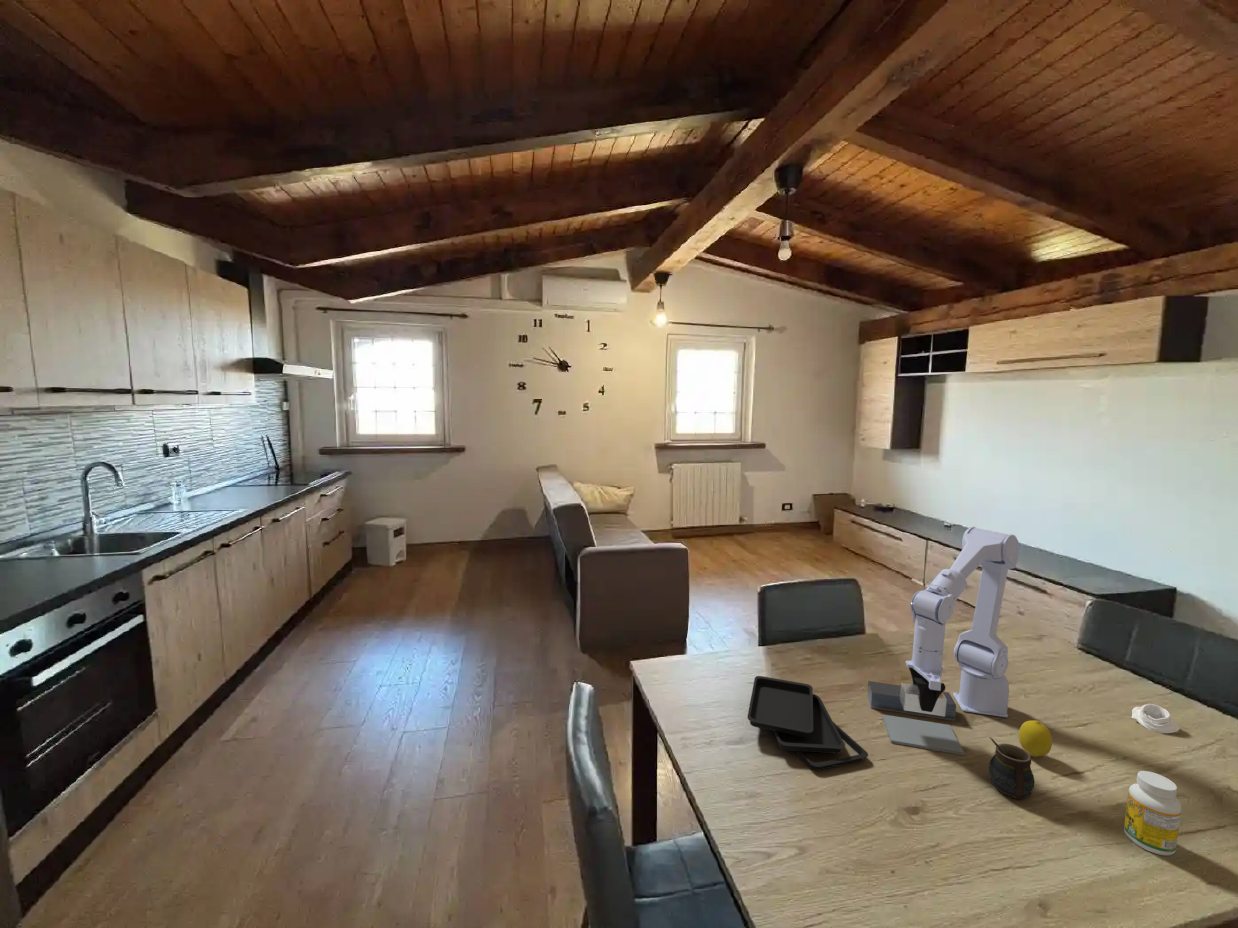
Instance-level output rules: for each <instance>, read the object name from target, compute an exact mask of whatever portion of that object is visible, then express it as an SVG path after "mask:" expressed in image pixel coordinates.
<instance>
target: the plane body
mask: <svg viewBox="0 0 1238 928" xmlns="http://www.w3.org/2000/svg"><path fill="white" fill-rule="evenodd" d="M867 683H868V684H867V695H866V696H867V699H868V703H869V706H870V708H871V709H875V710H883V711H889V712H895V713H902V714H908V715H915V716H920V717H921V716H922V717H926V718H933V719H934V718H935V719H940V720H945V721H951V722H955V721H956V711H957V704H956V702H955V700H954V699H953V696H952V695H951V693H950V692H948V691H943V694H944V696H945V697H946V699H947V701H946V712H945V717H944V716H938V715H931V714H925V713H918V712H912V711H906V710H904V709H903V706H902V704H901V701H900V687H901V684H900V685H899V684H891V683H884V682H880V681H879V682H878V681H871V680H868V682H867Z"/></svg>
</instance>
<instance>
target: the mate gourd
mask: <svg viewBox="0 0 1238 928" xmlns="http://www.w3.org/2000/svg"><path fill="white" fill-rule="evenodd" d="M989 739H990V740H991V742H992V743H993V744H994V745H995V753H994V755H993V756H992V758H991V759H990V761H989V764H988V775H989V779H990V782H991V783H992V785H993V786H994V787H995V788H996V789H997V790H998V791H999V792H1000V793H1002V794H1003V795H1006V796H1008V797H1011V798H1014V799H1016V800H1019V799H1025V798H1027V797H1029V796H1030V795H1031V794H1032V792H1033V790H1034V788H1035V782H1036V781H1035V775H1034V773H1033V771H1032V769H1031V765H1032V756H1031V754H1030V753H1028V752H1027V751H1025V750H1024V749H1023V748H1021V747H1020V746H1017V745H1014V744H1010V743H1000V744H998V743H997V742H996V741H995V740H994V739H993V738H992V737H991V736H989Z"/></svg>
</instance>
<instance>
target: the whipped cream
mask: <svg viewBox="0 0 1238 928" xmlns="http://www.w3.org/2000/svg"><path fill="white" fill-rule="evenodd" d="M1131 714H1132V715H1131V718H1132V719H1133V720H1136V721H1137V722H1138V723H1139V724H1140V725H1141V726H1142V727H1144V728H1145V729H1147V730H1150V731H1154V732H1155V733H1161V734H1173V733H1177V732H1178V731H1180V730H1181V728H1180V727H1181V726H1180V725H1179V724H1178V723H1176V722H1175V721H1174V720H1173V719H1172V716H1171V713H1170V712H1169V711H1168V710H1167V709H1165V708H1164V707H1161V705H1157V704H1153V703H1147V704H1143V705H1142V706H1135V707H1133V709H1132V710H1131Z"/></svg>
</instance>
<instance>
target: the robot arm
mask: <svg viewBox="0 0 1238 928" xmlns="http://www.w3.org/2000/svg"><path fill="white" fill-rule="evenodd" d="M961 549H962V550H961V551H960V552H959V554H958V555H957V557H956V559H955V560H954V562H953V564H952V565H951V566H950V568H944V569H942V570H941V571H940V572H939V573H938V574H937V575H936V577H935V578H934V579H933V580H932V581H931V582H930V583H929V585H928V586H927V587H926V588H925V589H923V590H918V591H916V592H915V593H914V595H912V598H911V603H910V604H909V605H910V606H909V609H910V612H911V615H912V619H911V620H912V621H913V622H912V623H914V631H913V644H912V657H911V660H906V661H905V665H906V667H907V668H908V669H909V672H910V675H911V679H912V680H911V681H912V684H914V685H917V687H918V691H919V699H920V707H921V710H922V711H927V712H932V711H933V709H934V706H935V704H936V701H937V699H938V697H939V696H940V695H941V693H942V692H946V688H947V687H946V684H945V683H944V682H942V681H941V679H942V676H943V671H944V670H943V669H944V668H943V660H944V659H943V658H944V657H943V656H944V648H945V647H944V645H945V635H946V634H945V632H946V624H947V623H948V622H949V621H950V620H951V618H952V615H953V612H954V610H955V607H956V601H957V600H958V599H959V597H960V596H961V595H962V593H963V592H964V591H965V590H966V589H967V587H968V582H967V578H968V577H969V576H970V575H972V573H973V572H974V571H976V570H977V568H978V567H979V566H981V567H982V568H981V574H980V575H981V576H980V580H979V587H978V591H977V598H976V602H975V603H976V604H975V609H974V613H973V619H972V625H971V629H969V630H965V631H963V632H961V633H959V635H958V638H957V639H958V640H957V642H956V643H955V646H954V649H953V656H954V659H955V661H956V662H957V663H958V667H959V668H960V669H961V670H960V680H959V681H960V682H959V692H953V693H952V695H953V697H954V699H955V701H956V702H957V703H958V705H959V706H960V709H961V710H962V711H963V712H967V713H968V712H969V713H973V714H979V715H989V716H995V717H1000V718H1001V717H1002V718H1008V717H1009V715H1008V707H1009V706H1008V704H1009V694H1010V687H1009V684H1010V683H1009V681H1008V678H1007V676H1006V675H1005V673H1006V672H1007V669H1008V666H1009V658H1008V653H1009V648H1008V646H1007V644H1006V643H1004V641H1003V640H1002V639H1001V638H1000V637H999V636H998V635H997V631H998V625H999V620H1000V615H1001V610H1002V605H1003V604H1002V603H1003V599H1004V595H1005V594H1004V593H1005V587H1006V582H1007V577H1008V572H1009V570H1012V569H1016V566H1017V563H1018V558H1019V553H1020V543H1019V540H1018V537H1017V536H1016V534H1015V535H1014V534H1011V533H1009V534H1007V533H1002V532H999V531H992V530H988V529H984V528H983V529H982V528H977V527H976V526H970V527H969V528H968V529H966V530H965V531H964V533H963V535H962V541H961Z"/></svg>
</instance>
